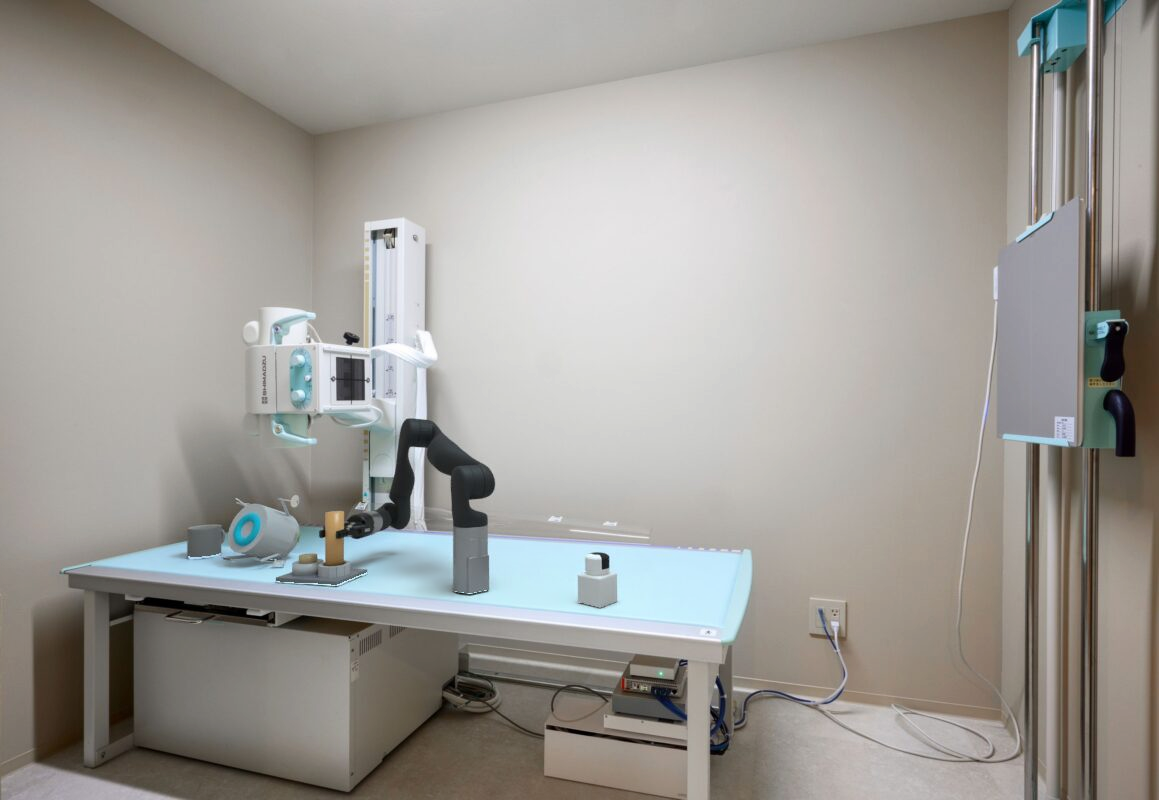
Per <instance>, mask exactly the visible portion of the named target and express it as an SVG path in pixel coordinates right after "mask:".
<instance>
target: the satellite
mask: <svg viewBox="0 0 1159 800" xmlns="http://www.w3.org/2000/svg"><path fill="white" fill-rule="evenodd" d="M235 500H236V501H237V502H236V504H239V505H240V506H242V507H243V508H241V509H240V511H239V512H237V514H236V515H235V516H234V518H233V520H232V521H231V523H230V526H229V528H228V532H227V541H228V542H227V543H228V546H229V548H230V549H231V551H233V552H234V553H236V554H237V553H238V554H239V555H231V556H223V557H221V559H222V560H223V561H230V562H232V560H238V559H241V560H242V559H249V558H258V559H255V561H256V562H257V561H258V562H260V563H264V562H266V563H270V560H269V559H278V560H274V561H271V563H273V564H272V567H275V566H276V564H277V566H281V567H282V566H283V567H285V566H284V565H285V564H286V560H284V559H283V558H285V557H286V556H289V554H290V553H291V552H292V551H294V549H295V548H296V546H297V544H299V542H300V540H301V531H300V525H299V523H298V520H297V519H296V518H295V517H294V516H293V515H291V514H290V512H289V510H288V506H287V504H286V502H290V506H291V507H292V508H297V506H298V505H299V503H300V497H299V495H297V494H295V495H293V496H292V497H291V499H284V498H283V497H280V498H277V500H279V501H280V503H281V505H282V507H283V510H284V511H281V510H278V509H276V508H273V507H269V506H266V505H263V504H261V503H246V502H243V501H241V500H240V499H239V498H237V497H235ZM280 558H281V559H280ZM282 559H283V560H282ZM281 564H282V565H281Z"/></svg>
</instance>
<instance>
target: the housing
mask: <svg viewBox="0 0 1159 800" xmlns="http://www.w3.org/2000/svg"><path fill="white" fill-rule="evenodd" d="M291 564H292V565H291V572H288V573H285V574H283V575H279V576H276V577H275V582H276V581H280V582H294V583H318V584H331V585H337V584H340V583H342V582H344V581H347V580H349V579H352V578H354V577H356V576H359V575H361V574H364V573H366V572H367V573H368V569H362V568H351V561H349V560H345V559H344V564H343V565H339V566H325V559H321V558H318V554H317V553H303V554H299V555H298V560H296V561H293V562H292V563H291Z"/></svg>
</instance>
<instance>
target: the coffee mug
mask: <svg viewBox="0 0 1159 800" xmlns="http://www.w3.org/2000/svg"><path fill="white" fill-rule="evenodd" d="M222 527H223V526H222V524H214V523H213V524H201V525H200V524H199V525H195V526H189V527H188V528H187V536H186V537H187V541H186V542H187V543H186V544H187V545H186V546H187V547H186V550H187V551H186V553H187V554H186V557H187V556H190V557H202V556H211V555H216V554H219V553H221V554H222V544H224V542H225V540H226V532H225V530H224V529H223V528H222Z"/></svg>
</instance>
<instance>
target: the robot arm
mask: <svg viewBox="0 0 1159 800" xmlns="http://www.w3.org/2000/svg"><path fill="white" fill-rule="evenodd" d="M397 444H398V445H397V452H396V458H395V459H396V460H395V469H394V473H393V474H394V475H393V478H392V482H391V486H390V489H389V494H388V498H389V499H390V501H391V502H384V503H383V504H382V505H381V506H380V507H378V508H377V509H373V510H370V511H362V512H359V513H356V514H353V515H351V516H349V517H348V519H346V521H344V529H342V530H339V531H336V539H340V538H343V537H344V538H351V539H354V540H360V539H362V538H367V537H368V536H369V537H370V536H372V535H375V534H377V533H379V532H381V531H382V532H383V531H385V530H386V529H388V528H389V527H391V528H393V529H395V530H398V531H400V530H403V529H405V528H406V527H407V526H408V525H409V523H410V522H411V521H410V520H411V514H412V511H411V510H412V509H411V504H412V503H411V497H412V494H413V490H414V486H415V481H416V477H415V473H414V470H413V467H412V465H411V464H412V463H411V462H410V458H409V453H410V448H423V449H424V448H425V449H426V458H427V460H428V462H429V463H430V464H431V465H432V466H433V467H434V468H435V469H436V470H437V471H438V472H440V473H442V474H443V475H446V476H450V497H451V516H452V536H453V537H452V590H454V591H457V592H464V593H474V592H479V591H484V590H489V591H490V554H489V553H488V552H489V546H488V545H489V543H488V542H489V531H488V530H489V516H488V514H487V513H486V512H483V511H479V510H476V509H474V508H472V507H471V506H470V505H471V504H470V501H472V500H482V499H486V498H488V497H490V496H491V495H492V494H493V493H494V491H495V488H496V481H495V480H496V478H495V476H494V474H493V472H492V470H491V468H490V467H489V466H487V465H486V464H484V463H482V462H480V461H479V460H477V459H475V458H474V457H472V456H471V455H470V454H468V453H467V452H466V451H464V450H463V449H462V448H461V447H460V446H459V445H458V444H457V443H456V442H455V441H453V440H452V439H450V438H449V437H448V436H447V435H446V434H445V433H444V432H443V431H442V430H441V429H440V427H439V426H438V424H437V423H435V422H434V421H433V420H430V419H424V418H423V419H421V418H410V417H409V418H406V419H404V421H403V422H402V425H401V426H400V431H399V436H398V443H397ZM318 537H319V539H323V538H324V539H325V525H324V526H322V529H320V530H319V531H318ZM454 591H453V592H454Z"/></svg>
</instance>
